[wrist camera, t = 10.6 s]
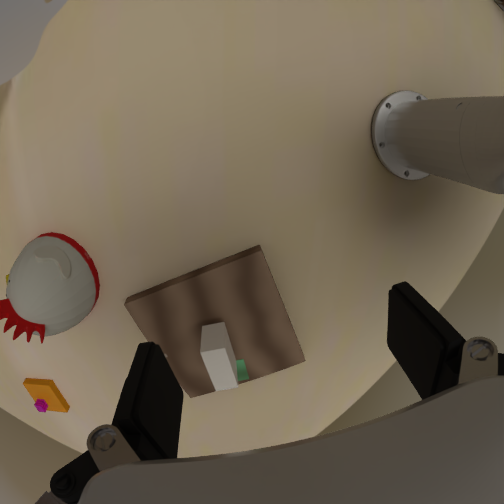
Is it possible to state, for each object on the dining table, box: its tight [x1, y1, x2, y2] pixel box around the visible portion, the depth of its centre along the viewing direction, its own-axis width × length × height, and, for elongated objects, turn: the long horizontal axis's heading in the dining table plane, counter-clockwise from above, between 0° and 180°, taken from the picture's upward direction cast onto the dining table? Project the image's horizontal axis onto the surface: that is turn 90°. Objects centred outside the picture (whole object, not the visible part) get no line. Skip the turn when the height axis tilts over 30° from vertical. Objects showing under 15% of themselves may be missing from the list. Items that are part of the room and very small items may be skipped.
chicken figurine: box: [0, 232, 100, 343], centre depth 32 cm, size 14×14×15 cm
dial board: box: [124, 245, 305, 398], centre depth 43 cm, size 20×20×2 cm
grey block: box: [200, 322, 238, 391], centre depth 39 cm, size 12×3×7 cm, turn 11°
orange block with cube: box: [23, 378, 70, 412], centre depth 45 cm, size 8×8×4 cm
